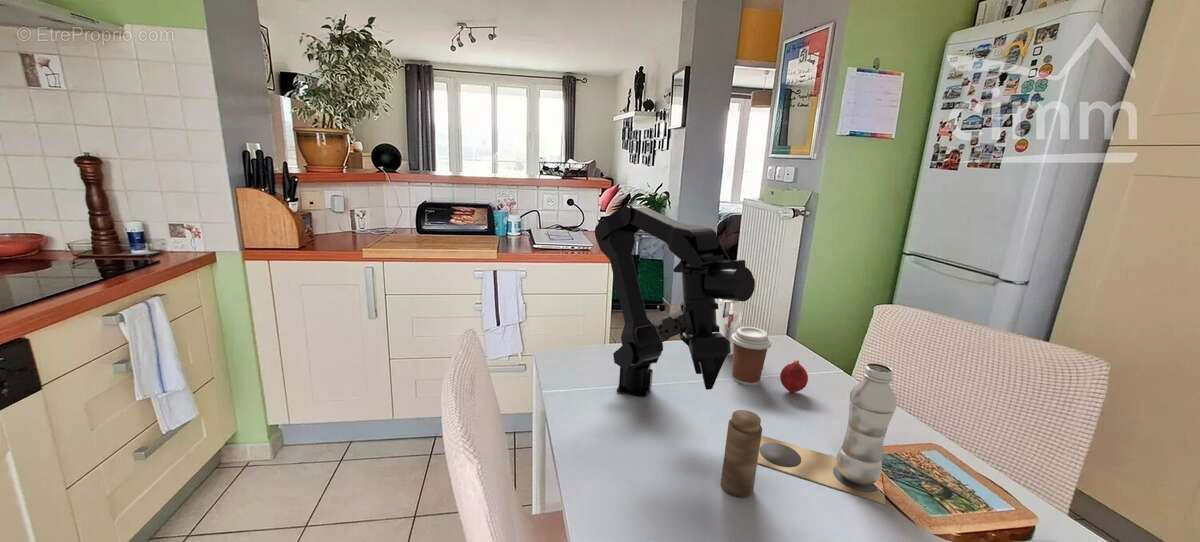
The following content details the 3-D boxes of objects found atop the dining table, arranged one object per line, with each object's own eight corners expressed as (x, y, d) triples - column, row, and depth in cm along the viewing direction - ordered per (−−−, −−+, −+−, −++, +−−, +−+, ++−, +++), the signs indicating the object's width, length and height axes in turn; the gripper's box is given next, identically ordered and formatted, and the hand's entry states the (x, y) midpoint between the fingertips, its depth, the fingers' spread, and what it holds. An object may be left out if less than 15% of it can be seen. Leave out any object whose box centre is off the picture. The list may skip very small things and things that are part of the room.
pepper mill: (719, 493, 73) (729, 422, 70) (721, 473, 78) (730, 406, 75) (753, 501, 72) (764, 429, 69) (752, 480, 77) (763, 412, 74)
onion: (807, 400, 103) (813, 367, 101) (780, 397, 104) (785, 363, 103) (802, 388, 109) (807, 356, 107) (776, 384, 110) (781, 353, 108)
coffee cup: (773, 387, 109) (780, 339, 106) (736, 388, 107) (742, 339, 104) (754, 369, 117) (761, 324, 114) (720, 370, 116) (725, 325, 113)
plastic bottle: (826, 465, 81) (846, 358, 76) (862, 465, 82) (885, 359, 77) (848, 491, 75) (872, 377, 70) (887, 491, 76) (914, 377, 71)
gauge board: (746, 460, 82) (746, 459, 82) (755, 434, 90) (755, 433, 90) (885, 504, 73) (885, 503, 73) (881, 471, 81) (881, 470, 81)
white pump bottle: (737, 348, 130) (743, 296, 126) (735, 358, 124) (742, 304, 120) (711, 344, 132) (717, 293, 128) (708, 353, 126) (714, 300, 122)
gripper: (650, 293, 95) (655, 369, 96) (660, 308, 76) (665, 401, 77) (705, 290, 95) (709, 366, 96) (729, 303, 76) (733, 397, 77)
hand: (703, 381), depth 87 cm, fingers open, 9 cm apart
